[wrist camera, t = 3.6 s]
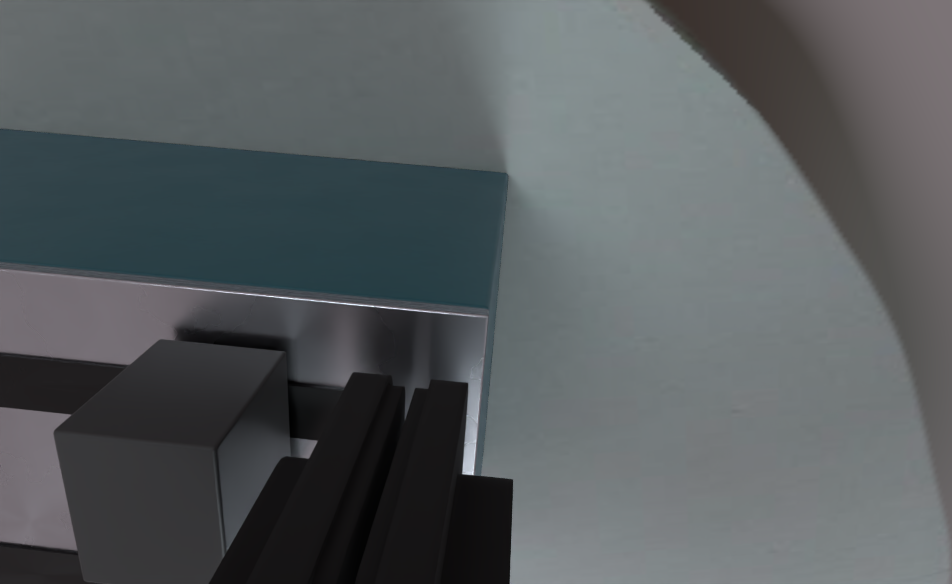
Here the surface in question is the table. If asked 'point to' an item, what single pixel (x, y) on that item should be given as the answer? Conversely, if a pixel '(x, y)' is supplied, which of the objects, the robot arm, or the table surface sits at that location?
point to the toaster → (225, 291)
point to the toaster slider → (172, 460)
